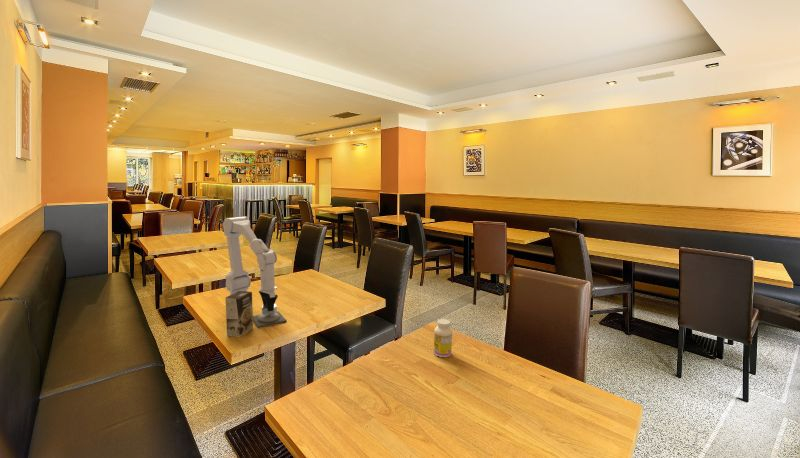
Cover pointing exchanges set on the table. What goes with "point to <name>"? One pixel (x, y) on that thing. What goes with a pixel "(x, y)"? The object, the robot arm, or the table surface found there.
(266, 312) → the grey metal ring
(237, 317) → the coffee box
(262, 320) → the hub
